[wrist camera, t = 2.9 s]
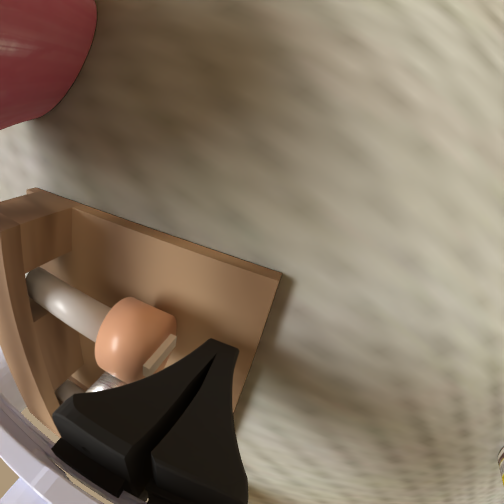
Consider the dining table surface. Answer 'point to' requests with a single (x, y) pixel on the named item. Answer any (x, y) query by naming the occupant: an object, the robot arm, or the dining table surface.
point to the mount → (115, 292)
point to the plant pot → (41, 54)
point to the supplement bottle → (501, 463)
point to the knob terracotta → (110, 326)
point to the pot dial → (106, 383)
